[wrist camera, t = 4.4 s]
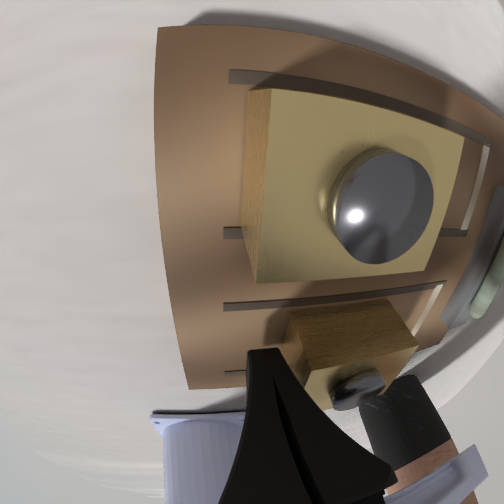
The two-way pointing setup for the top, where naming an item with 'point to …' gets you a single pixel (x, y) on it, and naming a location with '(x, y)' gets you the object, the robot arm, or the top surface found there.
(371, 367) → the slide
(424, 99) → the base
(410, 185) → the slide
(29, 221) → the top surface
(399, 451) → the travel mug
